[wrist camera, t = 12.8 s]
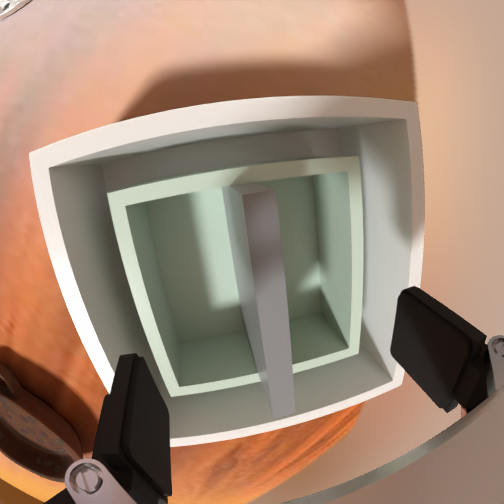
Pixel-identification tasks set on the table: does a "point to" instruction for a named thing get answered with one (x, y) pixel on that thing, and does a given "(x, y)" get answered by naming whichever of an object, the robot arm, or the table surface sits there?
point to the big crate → (222, 155)
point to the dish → (34, 432)
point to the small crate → (246, 271)
